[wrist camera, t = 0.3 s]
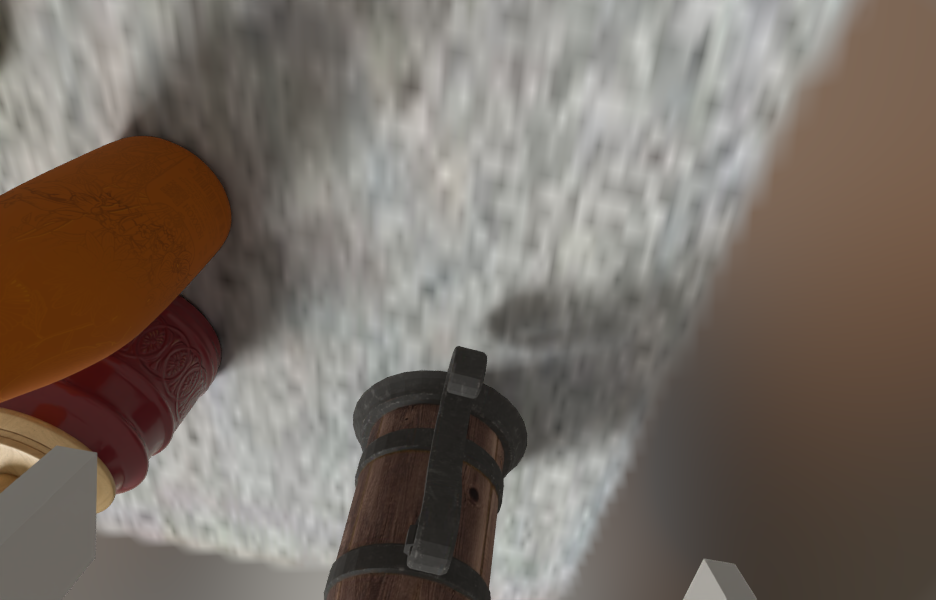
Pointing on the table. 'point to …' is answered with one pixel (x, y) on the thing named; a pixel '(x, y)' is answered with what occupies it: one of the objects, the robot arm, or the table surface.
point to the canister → (116, 403)
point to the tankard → (427, 485)
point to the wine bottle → (100, 254)
